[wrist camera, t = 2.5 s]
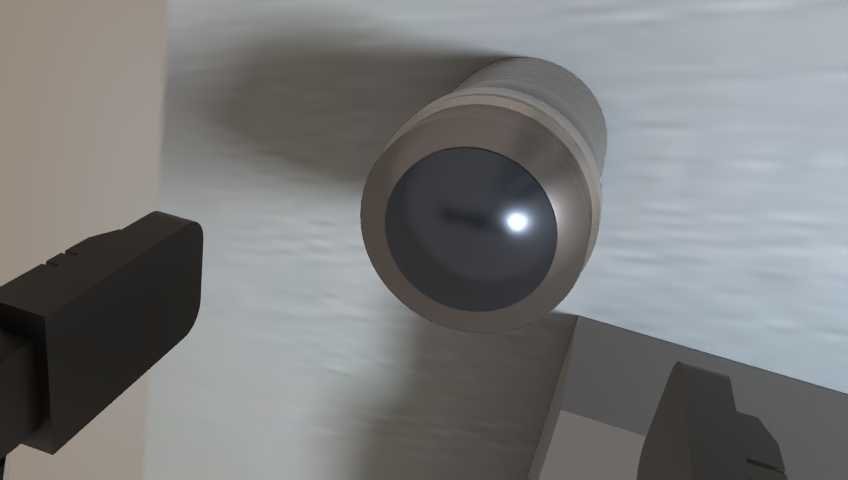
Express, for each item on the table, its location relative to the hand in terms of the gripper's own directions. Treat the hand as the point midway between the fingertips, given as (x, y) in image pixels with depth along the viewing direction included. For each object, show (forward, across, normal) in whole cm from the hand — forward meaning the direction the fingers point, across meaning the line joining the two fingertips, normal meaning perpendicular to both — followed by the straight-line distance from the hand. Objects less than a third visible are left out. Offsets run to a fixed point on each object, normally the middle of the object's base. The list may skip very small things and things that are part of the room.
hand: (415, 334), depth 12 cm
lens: (+11, 0, 0) cm, 11 cm away
